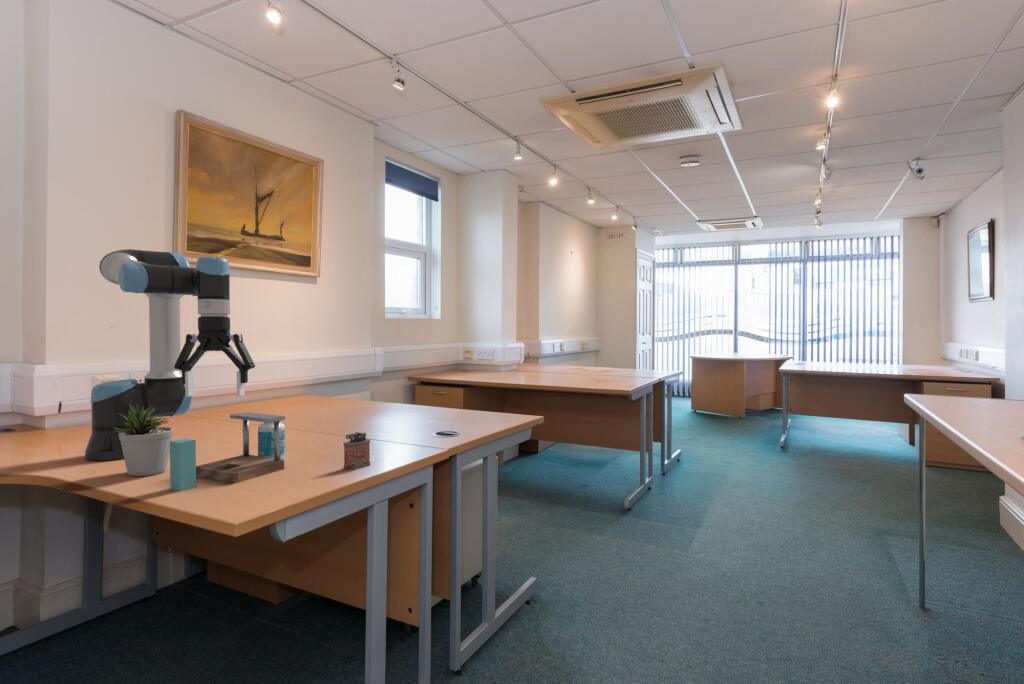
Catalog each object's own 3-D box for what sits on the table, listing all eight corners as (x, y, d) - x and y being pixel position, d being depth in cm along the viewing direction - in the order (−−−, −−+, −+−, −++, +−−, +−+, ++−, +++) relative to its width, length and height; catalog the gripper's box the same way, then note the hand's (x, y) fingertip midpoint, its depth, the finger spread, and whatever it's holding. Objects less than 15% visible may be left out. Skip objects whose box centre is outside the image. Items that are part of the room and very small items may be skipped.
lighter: (366, 463, 159) (366, 429, 159) (372, 465, 157) (372, 431, 156) (341, 468, 154) (341, 433, 153) (347, 470, 151) (346, 435, 151)
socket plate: (193, 475, 145) (193, 466, 145) (245, 462, 160) (245, 454, 159) (233, 483, 138) (233, 474, 138) (284, 468, 153) (284, 460, 153)
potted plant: (113, 471, 149) (112, 400, 148) (171, 464, 157) (170, 396, 157) (114, 482, 139) (112, 405, 138) (176, 473, 147) (175, 401, 147)
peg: (170, 489, 134) (169, 441, 133) (186, 484, 137) (185, 438, 137) (180, 491, 132) (179, 442, 131) (196, 486, 135) (195, 439, 135)
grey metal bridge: (230, 466, 155) (229, 414, 155) (247, 462, 160) (246, 412, 160) (269, 473, 148) (268, 419, 148) (285, 468, 153) (285, 416, 153)
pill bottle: (274, 464, 157) (274, 418, 157) (252, 463, 159) (251, 417, 159) (290, 458, 165) (289, 414, 164) (268, 457, 166) (268, 413, 166)
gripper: (157, 315, 138) (159, 397, 139) (254, 315, 138) (255, 397, 139) (176, 316, 146) (177, 394, 146) (267, 316, 146) (268, 393, 146)
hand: (215, 395), depth 143 cm, fingers open, 13 cm apart
